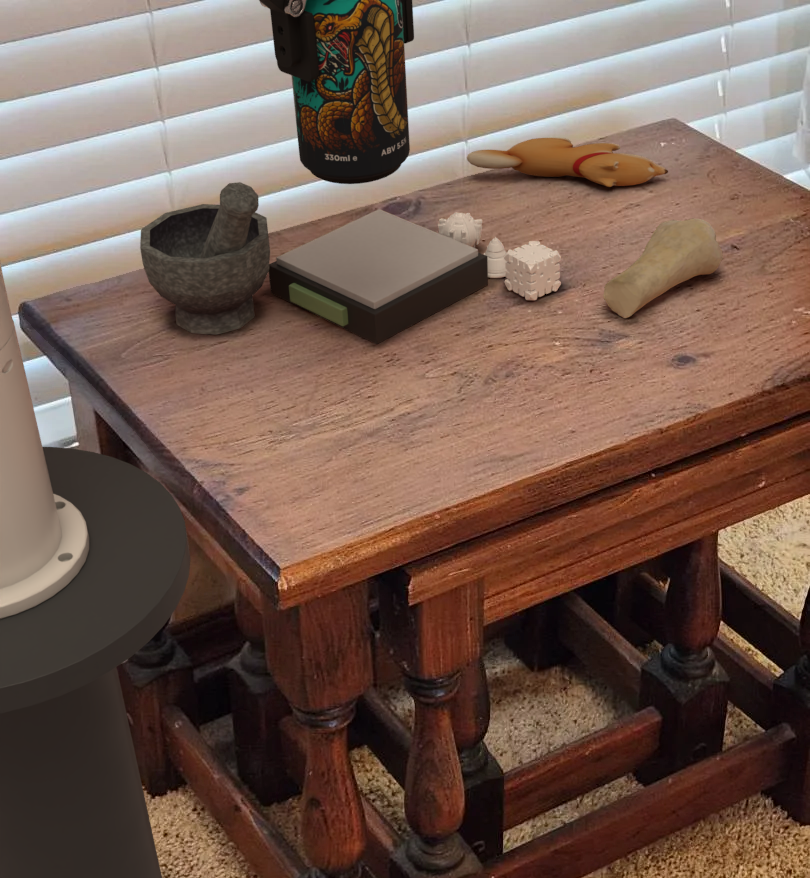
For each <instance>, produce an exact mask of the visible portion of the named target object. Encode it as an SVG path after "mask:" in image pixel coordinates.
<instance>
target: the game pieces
mask: <svg viewBox="0 0 810 878" xmlns="http://www.w3.org/2000/svg"><path fill="white" fill-rule="evenodd" d="M482 224H483V219H482V218H477V219H475V218H474V217H473V216H472V215H471V212H466V213H464V212H453V213H452V214H450V216H448V218H447V219H446V218H442V217H441V218H439V219H438V223H437V229H438V230H437V231H438V232H437V233H439V234H441V235H444V236H446V237H449V238H451V239H454V240H456V241H458V242H461V243H463V244H466V245H468V246H471V247H473V248H476V245H478V246H479V245H480V242H481V237H482V230H483V225H482ZM483 255H486V256H487V262H488V279H489V278H490V279H501V278H504V277H505V280H504V285H505V287H506V288H507V290H508V291H510V292H511V291H513V292H514V293H515V294H518V295H519V296H521V297H524V300H526V301H537V300H538V298H541V297H543V296H545V294H546V295H547V294H550V293H552V292H557V291H558V289H559V288H560V287H561V285H562V281H561V280H560V279H561V272H560V270H561V263H560V262H561V261H562V257H561V254H560V252H559V251H558V250H557V249H555V250H553V249H552V248H550V247H547V246H546V245H545V244H541V242H540V240H529V241H528V243H525V244H522V245H521V246H518V247H516V248H513V249H511V248H509V249H508V251H506V249H505V246H504V244H503V243H502V241H501V240H500V239H499V238H498V237H497V236H496V235H495V236H494V237H493V238H492V239H491V240H490V241H489V242H488V244H487V246H486V250H485V252H484V253H483Z"/></svg>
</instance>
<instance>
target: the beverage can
mask: <svg viewBox="0 0 810 878" xmlns="http://www.w3.org/2000/svg"><path fill="white" fill-rule="evenodd" d="M304 11H307V12H310V13H313V16H314V20H315V31H316V42H317V53H318V64H319V75H318V78H317V79H315V80H312V81H305V80H303V79H300V78H297V77H295V76H292V75H290V76H291V84H292V85H291V86H292V92H293V93H292V95H293V104H294V106H293V107H294V114H295V124H296V135H297V144H298V155H299V161H300V163H301V164H302V165H303V167H304V168H306V169H307V170H308V171H310V173H311V174H312V175H313V176H314V177H316V178H318V179H320V180H322V181H325V182H329V183H331V184H332V183H333V184H338V185H339V184H340V185H359V184H366V183H372V182H376V181H379V180H382V179H385V178H387V177H389V176H391V175H392V174H394V173H395V172H396V171H398V170H399V169H400V167H401V166H402V164H403V163H404V162H406V160H407V158H409V155H410V151H411V145H410V127H409V125H410V124H409V108H408V107H409V106H408V89H407V69H406V53H405V44H404V31H403V13H402V2H401V0H307V1H306V4H305V8H304Z"/></svg>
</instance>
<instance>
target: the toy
mask: <svg viewBox="0 0 810 878" xmlns="http://www.w3.org/2000/svg"><path fill="white" fill-rule="evenodd" d="M621 148H622V147H621V145H620V144H618V143H612V142H611V143H610V142H596V143H595V142H594V143H588V144H582V145H578V146H574V144H573V143H572V141H571V139H569V138H566V137H536V138H531V139H526V140H524V141H520V142H518V143H516V144H515V145H513V146H511V147H510V148H509V149H507V150H500V149H479V150H474V151H472V152H470V153H468V154H467V156H466V160H467V162H468V163H469V164H470V165H472V166H474V167H477V168H480V169H489V170H490V169H492V170H502V169H503V170H504V169H511V168H512V169H513V170H515V171H516V172H519V173H522V174H526V175H529V176H535V177H543V178H544V177H545V178H557V177H558V178H560V177H565V176H570V177H576V178H577V177H578V178H585V179H587V180H589V181H591V182H593V183H595V184H599V185H600V186H601V185H602V186H604V187H607V188H611V187H613V186H614V187H625V186H626V187H628V186H635V185H640V184H644V183H646V182H648V181H650V180H651V179H653V178H655V177H658V176H662V175H667V174H668V173H669V170H668V169H666V168H665V166H662V165H659V164H657V163H655V162H654V161H653V160H651V158H647V157H645V156H642V155H638V154H632V153H621V152H616V151H619V150H620V149H621Z"/></svg>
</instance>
